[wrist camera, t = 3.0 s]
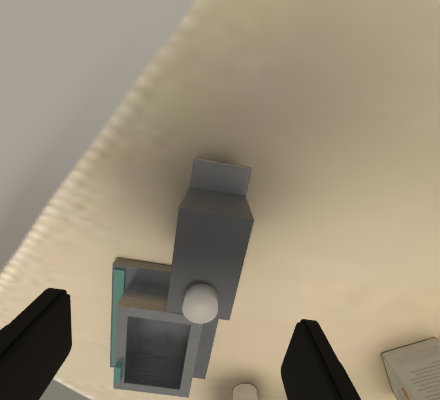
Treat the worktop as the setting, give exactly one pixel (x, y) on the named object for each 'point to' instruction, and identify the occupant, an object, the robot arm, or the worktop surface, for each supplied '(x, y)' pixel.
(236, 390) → the clear white hollow cylinder
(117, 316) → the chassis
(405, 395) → the small box
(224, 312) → the lever
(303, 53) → the worktop surface
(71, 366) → the worktop surface
